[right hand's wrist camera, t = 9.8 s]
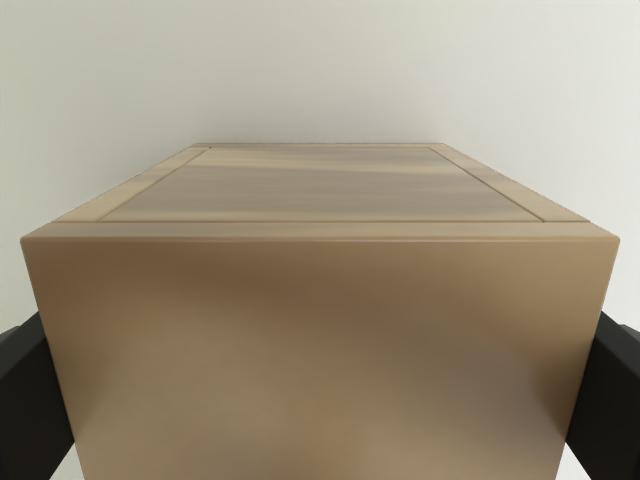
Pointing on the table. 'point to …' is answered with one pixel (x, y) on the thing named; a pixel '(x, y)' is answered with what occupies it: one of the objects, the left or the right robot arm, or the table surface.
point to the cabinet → (320, 317)
